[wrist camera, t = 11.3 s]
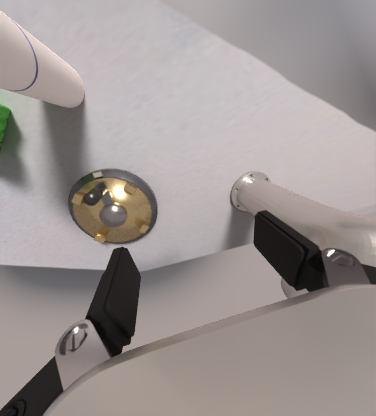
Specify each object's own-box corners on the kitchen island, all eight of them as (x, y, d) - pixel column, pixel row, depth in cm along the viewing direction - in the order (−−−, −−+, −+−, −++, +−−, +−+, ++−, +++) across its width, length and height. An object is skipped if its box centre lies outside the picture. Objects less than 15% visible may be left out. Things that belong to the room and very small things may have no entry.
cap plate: (163, 178, 38) (164, 181, 36) (151, 241, 47) (150, 247, 44) (70, 159, 33) (63, 161, 30) (74, 235, 41) (69, 241, 38)
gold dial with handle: (93, 161, 32) (74, 169, 24) (164, 201, 39) (166, 216, 32) (64, 222, 36) (40, 244, 29) (132, 247, 44) (126, 270, 36)
